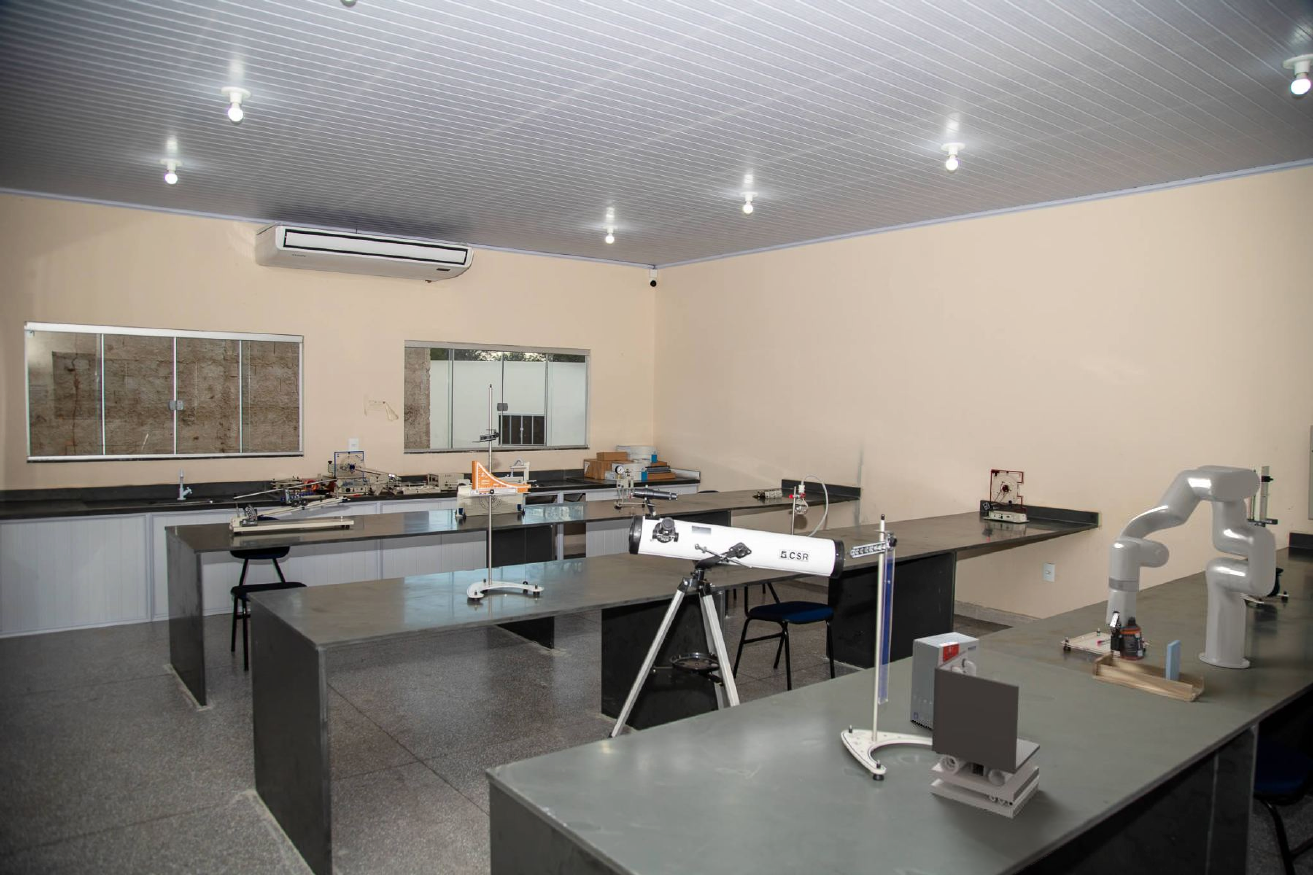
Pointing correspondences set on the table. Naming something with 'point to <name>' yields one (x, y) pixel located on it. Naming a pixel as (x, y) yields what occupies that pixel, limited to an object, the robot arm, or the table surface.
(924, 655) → the hard drive box
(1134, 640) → the supplement bottle
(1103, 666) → the lane tray
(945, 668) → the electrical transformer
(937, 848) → the table surface
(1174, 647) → the pusher plate
